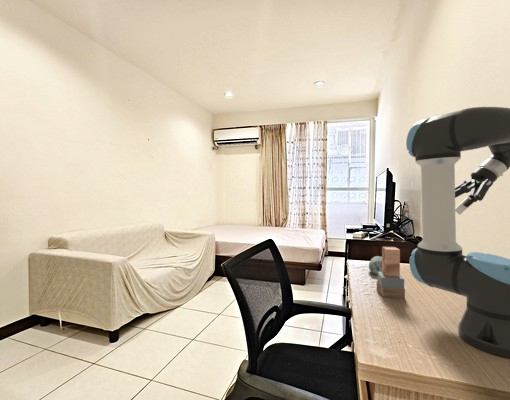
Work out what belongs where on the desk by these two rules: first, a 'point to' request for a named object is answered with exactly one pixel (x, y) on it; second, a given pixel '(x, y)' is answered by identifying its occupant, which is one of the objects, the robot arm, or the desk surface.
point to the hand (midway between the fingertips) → (445, 210)
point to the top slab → (390, 281)
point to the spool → (375, 265)
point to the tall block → (391, 261)
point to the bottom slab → (390, 292)
